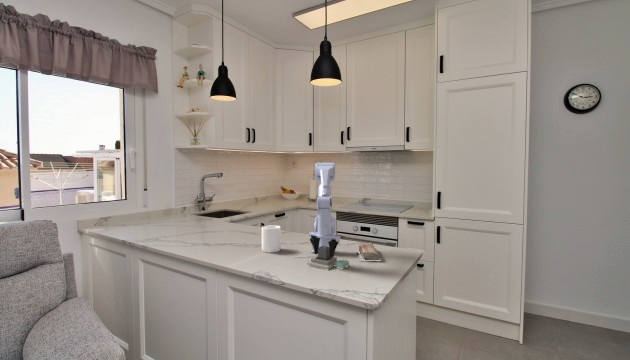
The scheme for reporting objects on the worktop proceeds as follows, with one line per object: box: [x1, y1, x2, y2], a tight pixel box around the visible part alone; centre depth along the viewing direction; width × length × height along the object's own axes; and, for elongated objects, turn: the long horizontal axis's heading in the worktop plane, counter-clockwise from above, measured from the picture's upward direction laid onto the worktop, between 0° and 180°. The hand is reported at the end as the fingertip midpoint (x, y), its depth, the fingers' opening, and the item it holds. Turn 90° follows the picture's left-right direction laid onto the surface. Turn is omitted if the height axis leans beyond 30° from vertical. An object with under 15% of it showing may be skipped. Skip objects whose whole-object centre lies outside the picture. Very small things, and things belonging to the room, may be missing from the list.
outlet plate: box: [306, 255, 342, 270], centre depth 132 cm, size 10×12×3 cm
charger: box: [317, 246, 331, 261], centre depth 131 cm, size 4×4×6 cm
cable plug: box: [334, 258, 350, 269], centre depth 128 cm, size 4×6×2 cm, turn 138°
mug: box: [261, 224, 282, 254], centre depth 152 cm, size 10×12×12 cm
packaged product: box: [358, 242, 383, 260], centre depth 144 cm, size 18×5×10 cm
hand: (324, 255), depth 131 cm, fingers open, 7 cm apart
